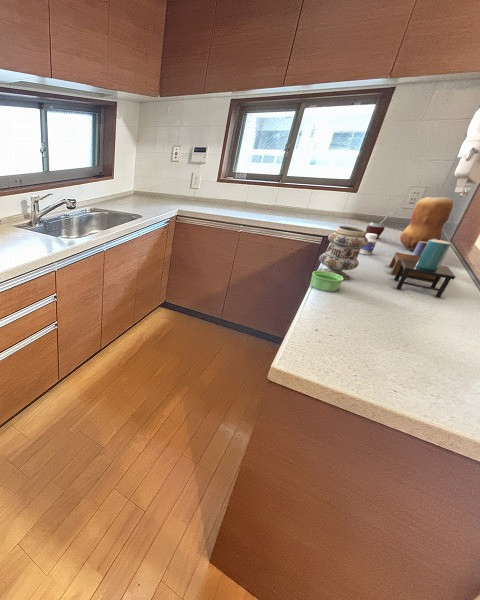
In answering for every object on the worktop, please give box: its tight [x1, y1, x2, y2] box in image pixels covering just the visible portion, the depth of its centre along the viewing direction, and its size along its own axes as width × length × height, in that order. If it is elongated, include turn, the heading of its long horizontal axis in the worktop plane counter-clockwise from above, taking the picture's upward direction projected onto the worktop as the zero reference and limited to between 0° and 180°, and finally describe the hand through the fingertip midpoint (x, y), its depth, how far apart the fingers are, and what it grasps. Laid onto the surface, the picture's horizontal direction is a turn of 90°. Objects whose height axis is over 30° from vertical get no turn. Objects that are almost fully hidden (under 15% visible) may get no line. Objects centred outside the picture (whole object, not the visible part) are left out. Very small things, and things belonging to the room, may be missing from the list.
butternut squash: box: [399, 196, 454, 252], centre depth 150 cm, size 14×13×25 cm
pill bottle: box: [359, 233, 378, 255], centre depth 149 cm, size 5×5×9 cm
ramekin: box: [310, 270, 345, 292], centre depth 113 cm, size 9×9×4 cm
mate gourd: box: [365, 211, 397, 240], centre depth 171 cm, size 8×8×15 cm
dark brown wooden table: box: [393, 259, 456, 299], centre depth 113 cm, size 12×12×8 cm
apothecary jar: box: [317, 225, 368, 280], centre depth 121 cm, size 12×12×18 cm
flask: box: [411, 239, 437, 256], centre depth 137 cm, size 9×3×11 cm, turn 58°
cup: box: [416, 239, 452, 270], centre depth 109 cm, size 5×5×9 cm
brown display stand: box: [388, 252, 436, 283], centre depth 126 cm, size 12×12×6 cm
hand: (461, 194), depth 115 cm, fingers open, 8 cm apart
